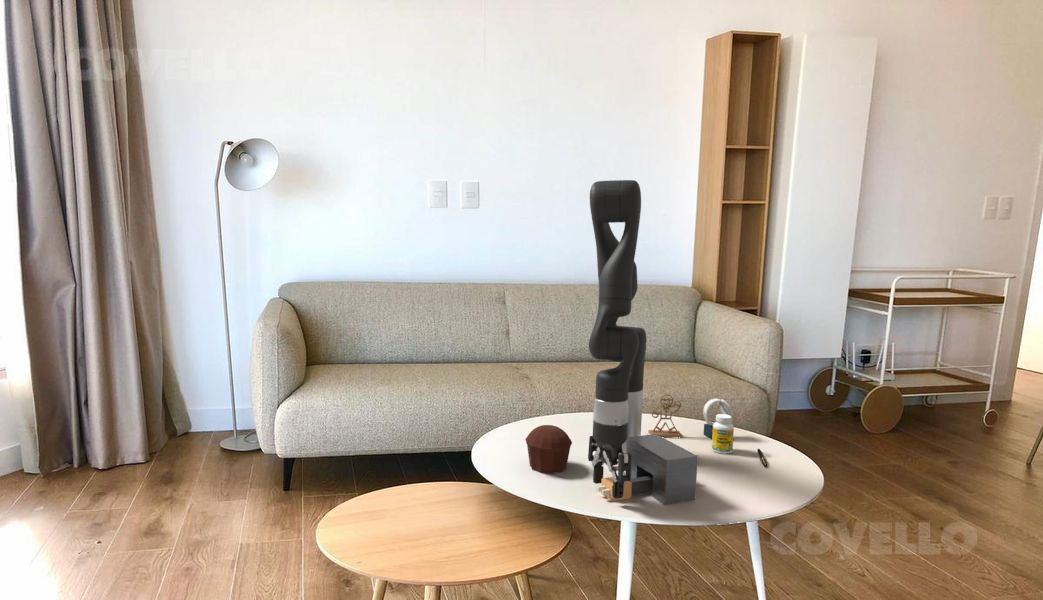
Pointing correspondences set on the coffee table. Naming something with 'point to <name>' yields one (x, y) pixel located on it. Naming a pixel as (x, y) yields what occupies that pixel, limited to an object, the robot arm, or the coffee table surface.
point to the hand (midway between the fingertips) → (607, 490)
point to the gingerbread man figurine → (666, 433)
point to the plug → (626, 487)
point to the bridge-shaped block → (664, 467)
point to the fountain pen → (762, 458)
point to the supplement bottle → (723, 434)
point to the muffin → (548, 449)
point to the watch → (709, 426)
